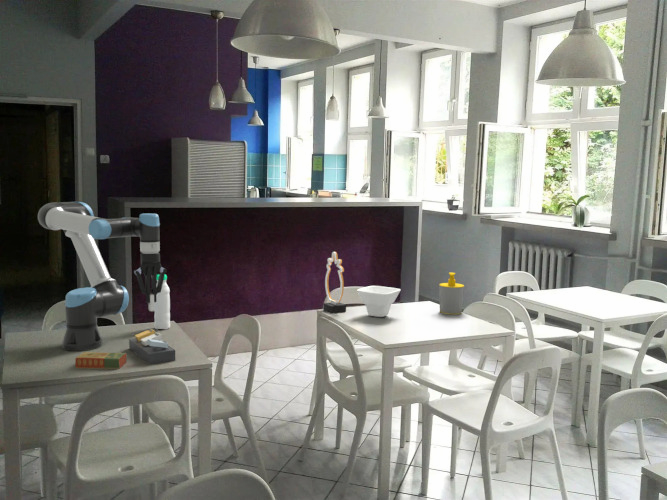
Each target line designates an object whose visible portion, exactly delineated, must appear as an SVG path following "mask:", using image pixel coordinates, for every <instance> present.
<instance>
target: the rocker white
mask: <svg viewBox="0 0 667 500" xmlns="http://www.w3.org/2000/svg"><path fill="white" fill-rule="evenodd" d="M148 339H152V340H161V341H162V340H163V337H162V334H161V333H158V332H155V334H153V335H150V336H148V337H145V338H143V339H141V342H142V344H143V345H145V346H146V345H148V344H147V340H148Z"/></svg>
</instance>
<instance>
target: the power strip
mask: <svg viewBox="0 0 667 500" xmlns="http://www.w3.org/2000/svg"><path fill="white" fill-rule="evenodd" d="M128 341H129V342H128V345H129V348H128V349H129V350H130V351H131V352H132V353H135V354H136V355H137V356H138V357H139V358H141V359H142V360H143V361H144V362H146V363H147V364H148V365H154V364H160V363H167V362H173V361H174V362H175V361H176V349H175V348H173V347H171V346H170V345H168V348H163V347H155V346H150V345H146V346H145V345H143V344H142V342H141V341H138V340H136V338H135V337H134V338H129V339H128ZM160 341H162V339H161V340H160Z"/></svg>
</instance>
